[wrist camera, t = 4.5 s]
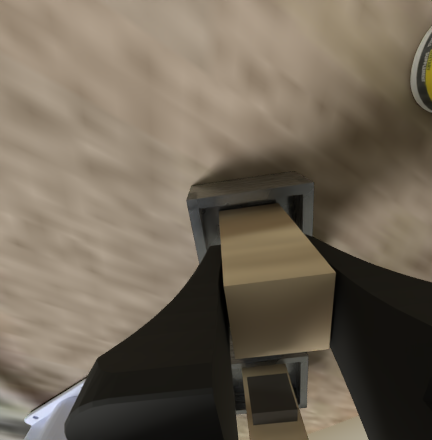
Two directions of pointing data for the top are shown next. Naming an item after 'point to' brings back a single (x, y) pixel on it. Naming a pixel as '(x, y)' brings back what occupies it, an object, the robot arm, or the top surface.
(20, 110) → the top surface
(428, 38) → the supplement bottle
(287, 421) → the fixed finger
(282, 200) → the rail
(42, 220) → the top surface
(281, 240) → the beige wooden block
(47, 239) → the top surface
